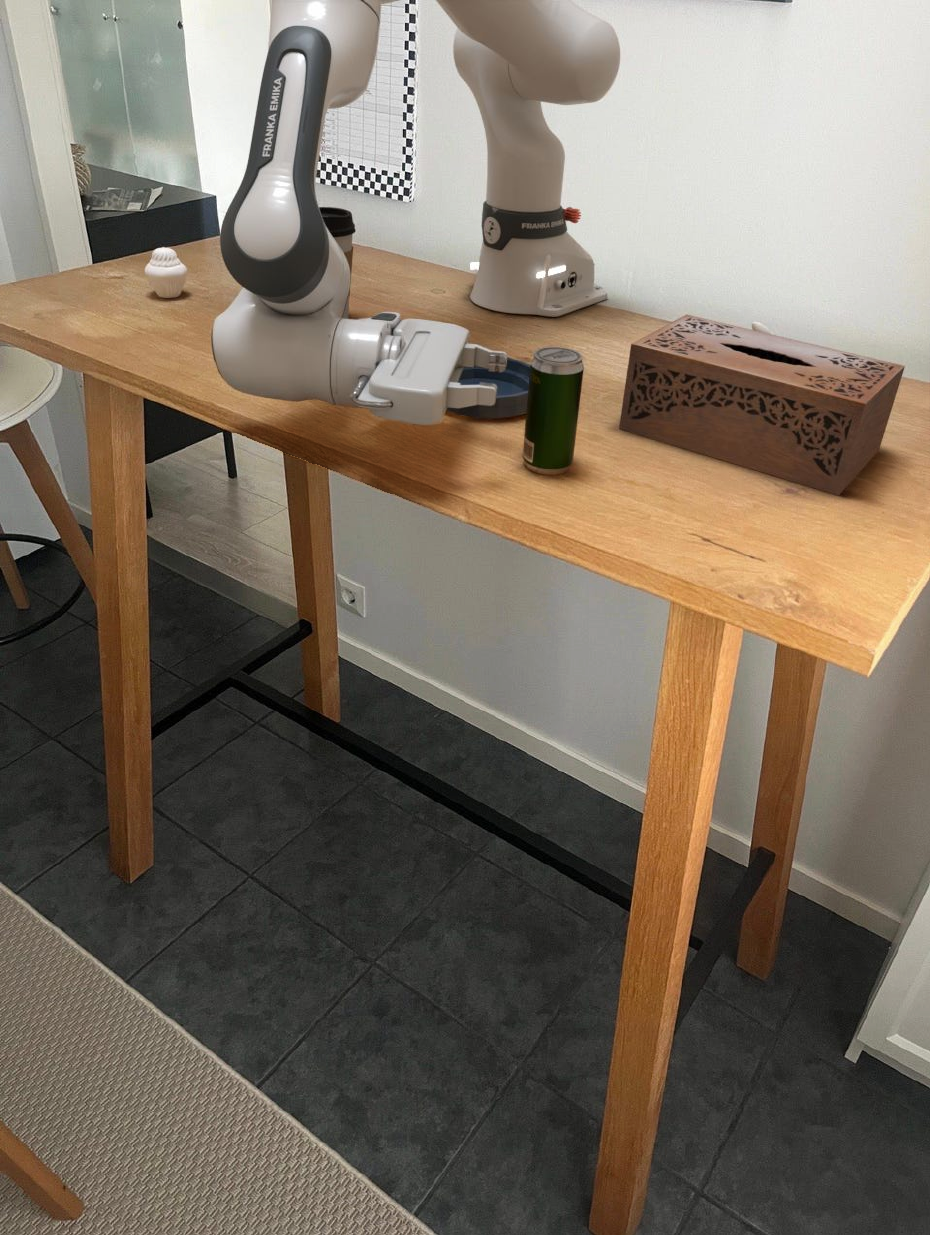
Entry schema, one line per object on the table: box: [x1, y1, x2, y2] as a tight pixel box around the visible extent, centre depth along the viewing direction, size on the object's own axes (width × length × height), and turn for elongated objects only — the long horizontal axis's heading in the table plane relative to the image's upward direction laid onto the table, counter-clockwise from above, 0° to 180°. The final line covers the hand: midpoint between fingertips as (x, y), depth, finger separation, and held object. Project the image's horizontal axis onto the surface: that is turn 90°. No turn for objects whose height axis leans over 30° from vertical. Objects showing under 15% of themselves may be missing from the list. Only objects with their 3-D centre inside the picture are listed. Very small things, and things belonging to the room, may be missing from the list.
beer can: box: [521, 346, 585, 476], centre depth 101 cm, size 5×5×12 cm
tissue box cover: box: [618, 314, 906, 496], centre depth 110 cm, size 26×14×10 cm, turn 55°
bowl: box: [446, 356, 531, 420], centre depth 119 cm, size 14×14×3 cm
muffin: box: [144, 246, 188, 299], centre depth 146 cm, size 6×6×7 cm
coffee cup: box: [319, 206, 356, 319], centre depth 137 cm, size 8×8×15 cm
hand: (501, 378), depth 100 cm, fingers open, 8 cm apart
